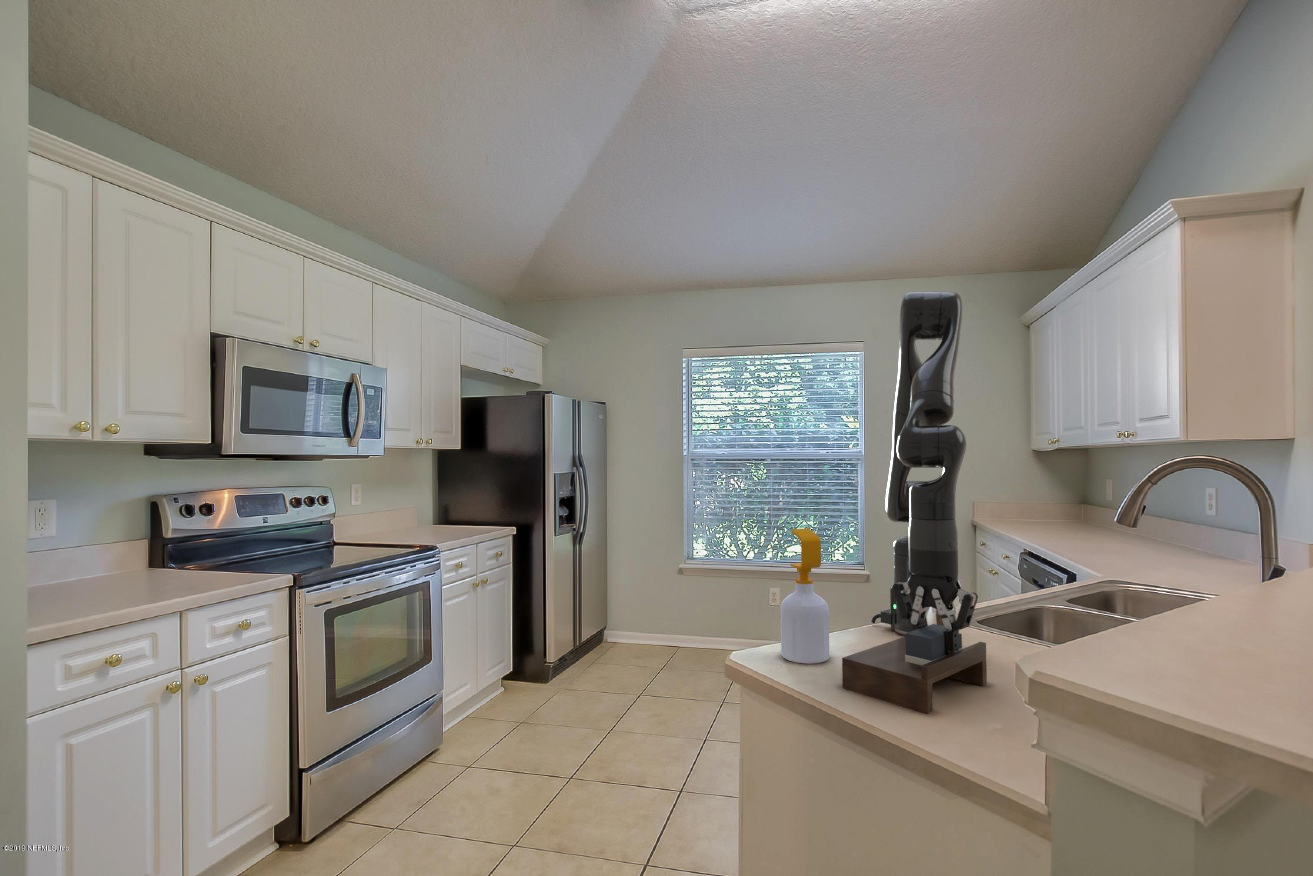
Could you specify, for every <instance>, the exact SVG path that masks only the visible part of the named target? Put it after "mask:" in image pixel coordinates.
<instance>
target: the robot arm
mask: <svg viewBox="0 0 1313 876" xmlns="http://www.w3.org/2000/svg"><path fill="white" fill-rule="evenodd" d="M963 311H964V306H963V300H962V297H961V295H960V294H959V293H958V292H955V291H954V292H953V291H909V292H907V293H905V295H904V296H903V297H902V300H901V304H900V311H899V324H898V325H899V329H898V330H899V331H898V332H899V333H898V335H899V336H898V338H899V339H898V371H897V382H896V390H895V398H894V406H893V407H894V408H893V421H892V422H893V424H892V447H891V458H890V465H889V472H888V479H887V484H886V493H885V513H886V516H887V518H888V520H890V521H891V522H893V523H901V524H904V523H905V524H907V523H908V535H905V536H902V537H899V538H897V539H895V540H894V541H893V584H892V586H891V587H890V589H889V595H890V596H889V599H890V600H889V601H890V602H889V604H890V607H889V608H888V609H884V610H881V611H880V613H877V614H875V615H873V616H872V618H871V623H872V624H874V625H875V623H876V621H877V619H880V623H881V624H887V625H890V631H893V632H895V633H897V634H900V635H903V636H906V633H908V632H911V631H914V630H917V629H920V628H923V627H926V626H928V625H927V621H926V613H927V611H928V610H929V607H933V608H935V609H937V610H938V613H939V616H940V617H941V618H942V621H943V625H944V628H945V631H944V645H945V654H951V653H954V651H955V650H957V647H958V644H957V643H958V640H957V631H958V630H959V631H961V630H963V629H966V628H969V627H970V625H971V623H972V622H971V621H972V618H973V615H974V611H975V609H976V607H977V606H976V605H977V603H978V600H979V594H978V593H976V592H969V591H967V590H964V589H963V588H962V589H961V587H962V586H961V587H960V585H959V583H958V578H959V544H958V543H959V540H958V539H959V538H958V528H957V520H956V517H957V516H956V493H957V483H958V480H959V479H958V478H959V474H960V470H961V467H962V465H963V460H964V456H965V454H966V449H967V437H966V436H965V434H964V432H963V430H962V429H961V428H960V427H959V426H956V425H953V424H947V423H949V422H950V421H951V420H952V418H953V417H954V413H955V373H956V367H957V363H958V362H957V361H958V358H959V357H958V356H959V349H960V342H961V335H962V326H963V316H964V315H963V314H964V312H963ZM916 341H940V344H939V345H938V346H937V348H936V349H935V350H934V351H933V352H932V353H931V354H930V356H929V357H928V358H926V360H925V361H924V362H922V360H921V358H920V355H919V351H918V348H917V345H916ZM914 468H917V469H920V468H921V469H922V468H924V469H928V468H929V469H930V468H931V469H933V468H935V469H937V468H938V469H939V468H941V469H942V472H941V474H940V476H938V477H936V478H934V479H931V480H908V477H909V474H910V473H911V470H912V469H914ZM957 596H959V603H960V604H961V607H960V610H959V614H958V617H957V618H956V609H955V606H954V603H953V601H954V600H955V598H956V597H957Z"/></svg>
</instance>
